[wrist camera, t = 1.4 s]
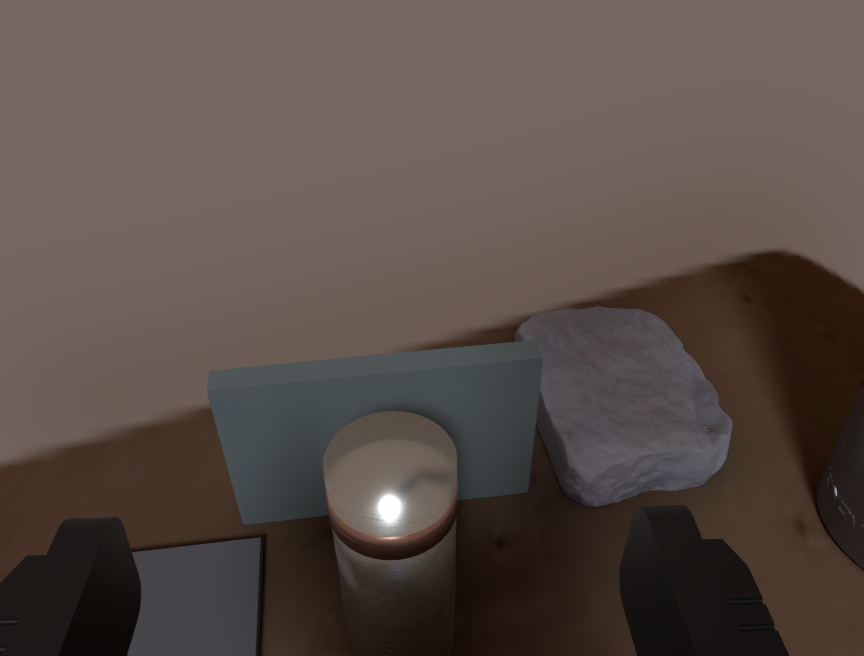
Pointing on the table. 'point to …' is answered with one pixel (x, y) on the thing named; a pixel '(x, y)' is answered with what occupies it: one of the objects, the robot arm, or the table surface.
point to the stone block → (623, 405)
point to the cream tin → (394, 532)
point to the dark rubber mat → (200, 600)
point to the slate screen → (366, 394)
